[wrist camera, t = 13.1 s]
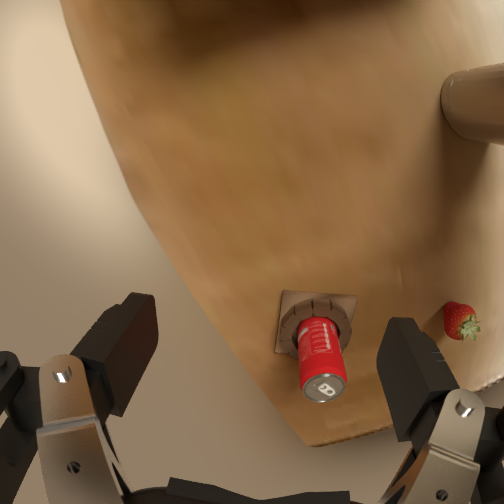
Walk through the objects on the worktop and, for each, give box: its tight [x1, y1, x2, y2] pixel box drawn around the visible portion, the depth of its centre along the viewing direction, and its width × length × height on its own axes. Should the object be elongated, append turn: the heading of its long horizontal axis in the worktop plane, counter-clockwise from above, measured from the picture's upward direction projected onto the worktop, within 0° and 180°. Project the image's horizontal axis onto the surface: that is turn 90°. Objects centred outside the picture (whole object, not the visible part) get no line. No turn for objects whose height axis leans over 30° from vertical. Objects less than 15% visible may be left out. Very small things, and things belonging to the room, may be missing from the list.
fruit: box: [444, 302, 480, 341], centre depth 37 cm, size 5×5×8 cm
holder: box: [275, 290, 357, 360], centre depth 42 cm, size 10×10×3 cm
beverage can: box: [298, 316, 347, 402], centre depth 36 cm, size 5×5×12 cm
